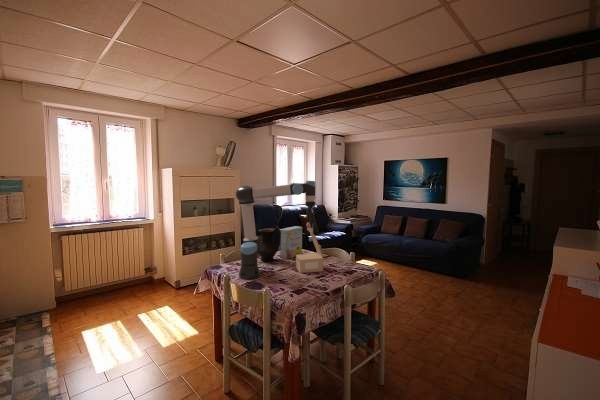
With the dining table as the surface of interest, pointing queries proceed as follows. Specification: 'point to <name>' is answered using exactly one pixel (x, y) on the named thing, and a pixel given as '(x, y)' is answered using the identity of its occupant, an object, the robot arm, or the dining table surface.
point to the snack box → (291, 242)
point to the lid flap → (315, 242)
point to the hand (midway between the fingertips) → (310, 231)
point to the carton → (309, 262)
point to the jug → (268, 244)
